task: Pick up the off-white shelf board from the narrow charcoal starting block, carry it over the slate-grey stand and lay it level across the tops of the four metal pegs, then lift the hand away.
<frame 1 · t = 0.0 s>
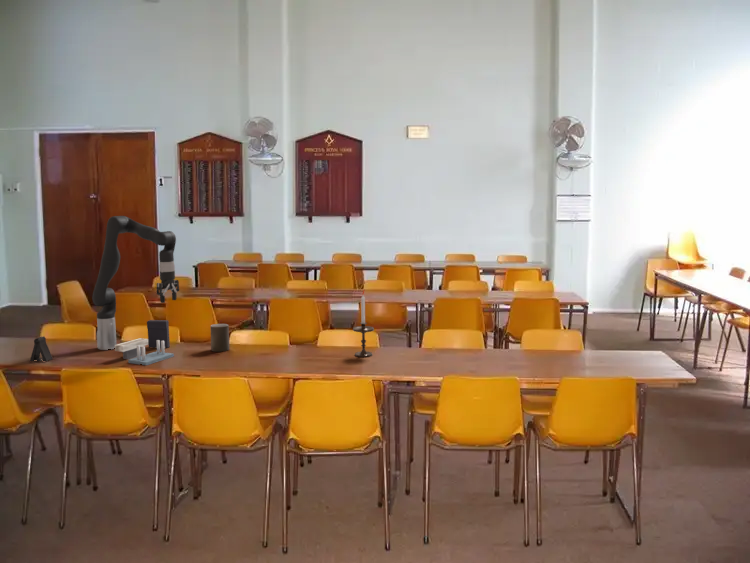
hand: (168, 301, 377), 29 cm above the table, tool pointing down, fingers open, 8 cm apart
phone stand: (41, 360, 376), on the table
peg stand: (151, 359, 376), on the table
shelf board: (132, 347, 381), point 5 cm above the table, touching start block
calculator: (159, 347, 403), on the table
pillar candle: (220, 350, 396), on the table
candlestick: (363, 355, 382), on the table
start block: (132, 357, 381), on the table
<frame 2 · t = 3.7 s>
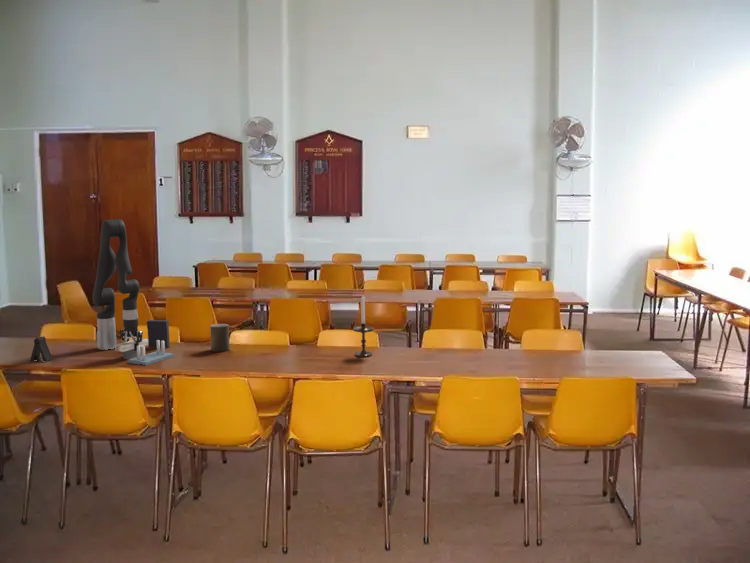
hand: (132, 349, 381), 4 cm above the table, tool pointing down, fingers closed on shelf board, 5 cm apart
shelf board: (132, 347, 381), point 5 cm above the table, touching gripper, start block
everything else where it was.
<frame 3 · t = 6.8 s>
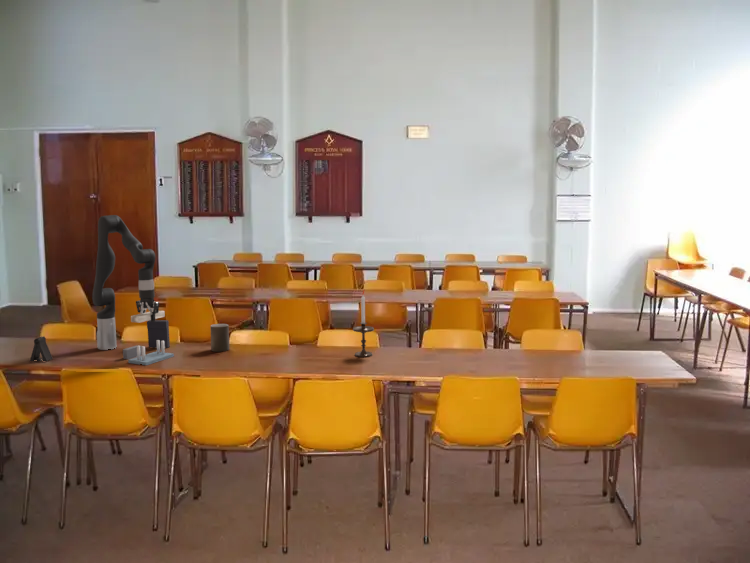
hand: (148, 321, 373), 20 cm above the table, tool pointing down, fingers closed on shelf board, 5 cm apart
shelf board: (148, 319, 373), point 21 cm above the table, touching gripper
everything else where it was.
when the fingers open (9 cm above the table, at t = 9.8 s): shelf board drops 1 cm, resting on peg stand.
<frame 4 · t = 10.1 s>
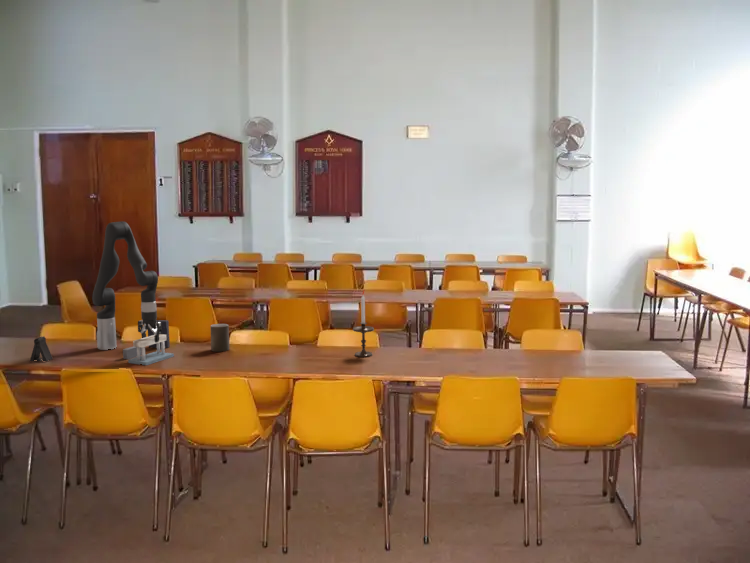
hand: (150, 341, 374), 10 cm above the table, tool pointing down, fingers open, 8 cm apart
shelf board: (150, 343, 375), point 8 cm above the table, touching peg stand
everything else where it was.
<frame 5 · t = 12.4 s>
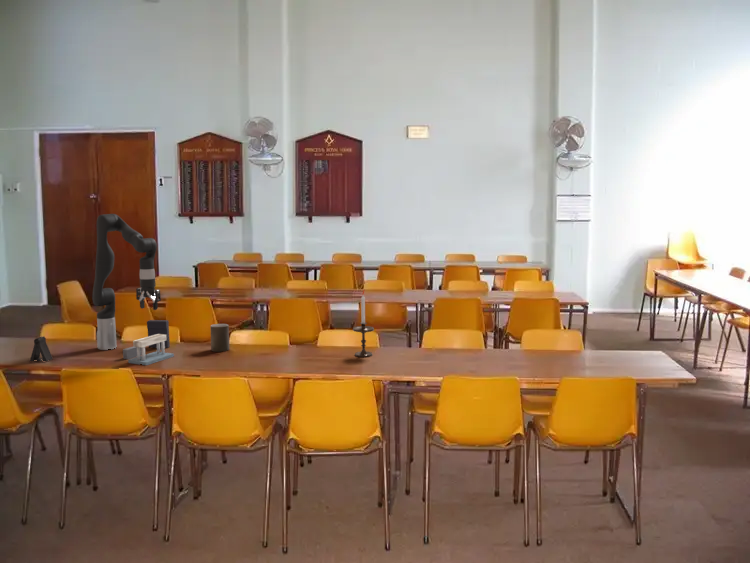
hand: (148, 309, 373), 26 cm above the table, tool pointing down, fingers open, 8 cm apart
nothing on the table moved.
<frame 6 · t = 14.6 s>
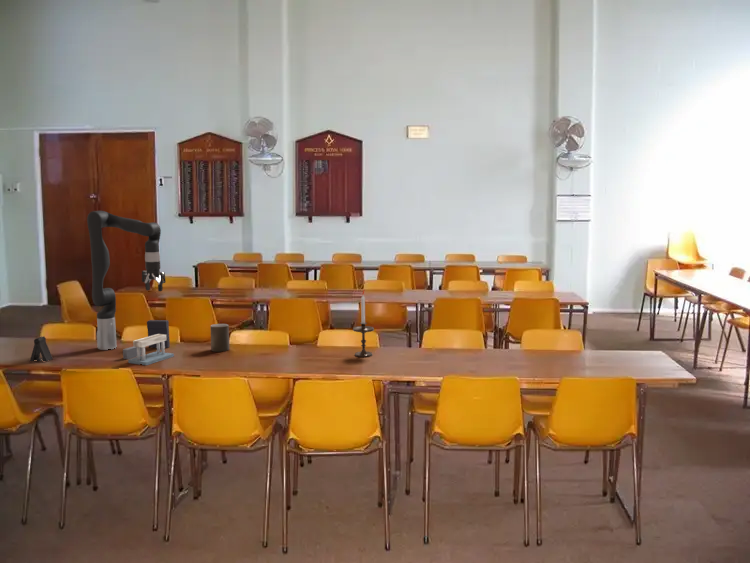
hand: (154, 290, 389), 33 cm above the table, tool pointing down, fingers open, 8 cm apart
nothing on the table moved.
at the end: shelf board 0.2 cm off-centre on the peg stand, point 8.5 cm above the peg stand's base; shelf board tilted 0°; the gripper is holding nothing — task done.
